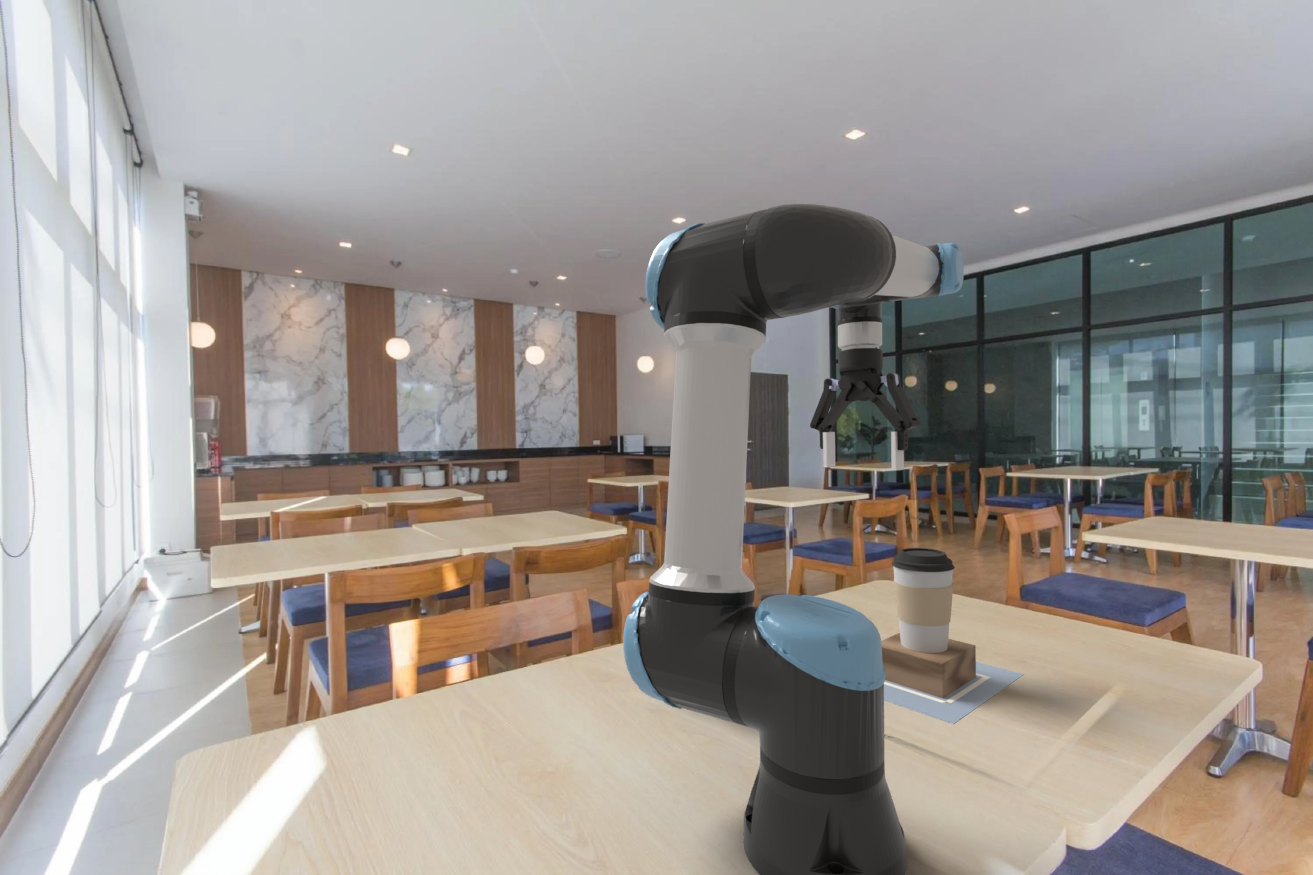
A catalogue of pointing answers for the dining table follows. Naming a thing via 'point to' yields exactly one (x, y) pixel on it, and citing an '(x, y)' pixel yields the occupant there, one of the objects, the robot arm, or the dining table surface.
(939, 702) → the board
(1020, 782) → the dining table surface
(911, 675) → the walnut base block
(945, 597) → the coffee cup
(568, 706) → the dining table surface
